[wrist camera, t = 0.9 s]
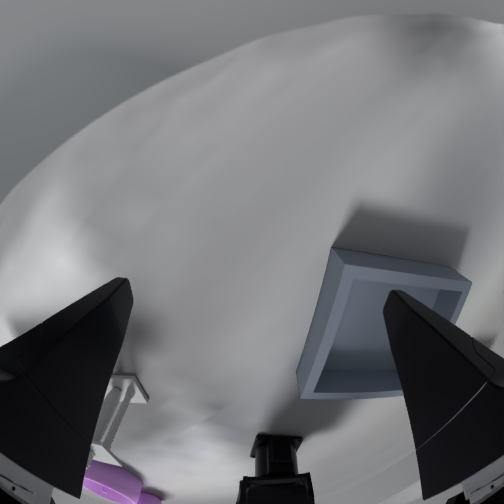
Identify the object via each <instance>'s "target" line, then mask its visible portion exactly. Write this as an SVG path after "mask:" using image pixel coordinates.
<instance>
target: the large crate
mask: <svg viewBox="0 0 504 504" xmlns="http://www.w3.org/2000/svg"><path fill="white" fill-rule="evenodd" d="M471 285H472V282H471V281H469V280H468V279H467V278H465V277H464V276H462V275H461V274H460V273H458V272H457V271H455V270H454V269H452V268H451V267H447V266H441V265H436V264H430V263H424V262H419V261H413V260H407V259H401V258H395V257H390V256H384V255H378V254H372V253H365V252H359V251H353V250H347V249H341V248H334V247H331V251H330V255H329V259H328V263H327V267H326V271H325V275H324V279H323V283H322V287H321V291H320V294H319V298H318V302H317V305H316V309H315V312H314V316H313V319H312V323H311V326H310V330H309V333H308V336H307V339H306V343H305V346H304V349H303V352H302V355H301V359H300V362H299V365H298V368H297V371H296V374H297V381H298V387H299V394H300V399H327V400H333V399H368V398H383V397H395V396H404V395H403V391H402V387H401V383H400V380H399V376H398V373H397V369H396V366H395V362H394V359H393V356H392V352H391V349H390V344H389V340H388V335H387V330H386V326H385V321H384V317H383V307H384V305H385V302H386V300H387V297H388V294H389V292H390V291H391V290H403V291H404V292H406V293H407V294H409V295H410V296H412V297H414V298H415V299H417V300H418V301H420V302H421V303H423V304H424V305H426V306H427V307H429V308H430V309H432V310H433V311H435V312H436V313H438V314H439V315H441V316H442V317H444V318H445V319H447V320H448V321H450V322H451V323H453V324H454V325H455V323H456V321H457V319H458V317H459V315H460V312H461V310H462V308H463V305H464V303H465V300H466V298H467V295H468V293H469V290H470V288H471Z"/></svg>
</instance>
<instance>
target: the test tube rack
mask: <svg viewBox="0 0 504 504" xmlns="http://www.w3.org/2000/svg"><path fill="white" fill-rule="evenodd" d="M148 401H149V399H148V397H147V396H146V394H145V392H144V391H143V389H142V387H141V385H140V384H139V382H138V380H137V378H136V377H135V376H128V375H111V378H110V381H109V384H108V388H107V391H106V394H105V397H104V401H103V404H102V407H101V411H100V414H99V418H98V421H97V425H96V429H95V432H94V436H93V440H92V444H91V449H90V453H89V457H88V462H87V466H86V469H88V466H90V463H91V461H92V459H93V460H96V461H100V462H104V463H108V464H113V465H117V466H122V467H123V463H122V462H121V461H120V460H119V459H118V458H117V457H116V456H115V455H114V454H113V453H112V452H111V451H110V448H111V443H112V441H113V439H114V436H115V434H116V432H117V429H118V427H119V425H120V423H121V420H122V418H123V416H124V414H125V411H126V409H127V407H128V405H129V403H130V402H132V403H148ZM119 402H122V404H121V406H120V408H119V410H118V412H117V414H116V416H115V419H114V421H113V423H112V425H111V427H110V429H109V432H108V434H107V436H106V438H105V440H104V442H103V443H101V442H100V441H101V439H102V437H103V435H104V433H105V430H106V428H107V426H108V424H109V422H110V420H111V418H112V416H113V414H114V411H115V409H116V407H117V405H118V403H119Z"/></svg>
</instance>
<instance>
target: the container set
mask: <svg viewBox="0 0 504 504" xmlns="http://www.w3.org/2000/svg"><path fill="white" fill-rule="evenodd" d="M142 486H143V483H142V481H141V480H140V479H139V478H137V477H136V476H135V475H133V474H132V473H130V472H129V471H127V470H125V469H123V468H121V467H120V466H117V465H113V464H108V463H104V462H100V461H96V460H93V459H92V461H91V463H90V466H88V469H86V471H85V476H84V481H83V487H85V488H86V489H88V490H89V491H91V492H93V493H95V494H97V495H99V496H101V497H103V498H105V499H107V500H110V501H112V502H115V503H118V504H162V503H161V501H160V499H159V498H158V497H156V496H154V495H151V494H147V493H141V489H142Z"/></svg>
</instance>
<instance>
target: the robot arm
mask: <svg viewBox="0 0 504 504" xmlns="http://www.w3.org/2000/svg"><path fill="white" fill-rule="evenodd" d="M132 306H133V295H132V290H131V286H130V282H129V280H128V279H127V278H121V277H117V278H115V279H113V280H111V281H110V282H108V283H106V284H104V285H103V286H101V287H99V288H98V289H96V290H94V291H92V292H91V293H89V294H87V295H86V296H84V297H82V298H81V299H79V300H77V301H76V302H74V303H72V304H71V305H69V306H67V307H66V308H64V309H63V310H61V311H59V312H58V313H56V314H54V315H53V316H51V317H50V318H48V319H47V320H45V321H43V322H42V323H40V324H39V325H37V326H35V327H34V328H32V329H31V330H29V331H27V332H26V333H24V334H23V335H21V336H19V337H17V338H16V339H14V340H12V341H10V342H8V343H7V344H5V345H3V346H1V347H0V504H55V502H54V500H53V498H52V492H53V488H54V487H55V488H57V489H59V490H61V491H63V492H65V493H67V494H70V495H71V496H74V497H76V498H78V499H80V496H81V491H82V486H83V481H84V476H85V471H86V466H87V462H88V457H89V453H90V449H91V444H92V440H93V436H94V432H95V429H96V425H97V421H98V418H99V414H100V411H101V407H102V404H103V400H104V397H105V394H106V391H107V388H108V384H109V381H110V378H111V375H112V372H113V369H114V366H115V363H116V361H117V358H118V355H119V352H120V349H121V346H122V343H123V341H124V337H125V333H126V329H127V325H128V321H129V317H130V313H131V310H132ZM383 317H384V321H385V326H386V330H387V335H388V340H389V344H390V349H391V352H392V356H393V359H394V362H395V366H396V369H397V373H398V376H399V380H400V383H401V387H402V391H403V395H404V399H405V403H406V407H407V411H408V415H409V420H410V424H411V429H412V433H413V438H414V443H415V449H416V455H417V461H418V466H419V473H420V480H421V488H422V496H423V500H426V499H429V498H431V497H433V496H435V495H438V494H440V493H442V492H444V491H446V490H448V489H450V488H452V487H454V486H456V485H458V484H460V483H462V487H463V492H461V493H459V494H457V495H455V496H453V497H452V498H450V499H448V500H447V502H446V504H504V358H502V357H501V356H499V355H498V354H496V353H495V352H493V351H491V350H490V349H488V348H487V347H486V346H484V345H483V344H481V343H480V342H478V341H477V340H476V339H474V338H473V337H471V336H470V335H468V334H467V333H466V332H464V331H463V330H461V329H460V328H458V327H457V326H455V325H454V324H453V323H451V322H450V321H448V320H447V319H445V318H444V317H442V316H441V315H439V314H438V313H436V312H435V311H433V310H432V309H430V308H429V307H427V306H426V305H424V304H423V303H421V302H420V301H418V300H417V299H415V298H414V297H412V296H410V295H409V294H407V293H406V292H404V291H403V290H391V291H390V292H389V294H388V297H387V300H386V302H385V305H384V307H383ZM302 441H303V438H302V437H286V436H265V435H258V436H256V438H255V441H254V445H253V448H252V451H251V454H250V457H252V458H255V477H248V476H243V480H241V481H240V486H239V494H238V498H237V502H236V504H315V502H314V492H313V487H312V482H311V476H310V472H308V473H304V474H298V466H297V456H296V452H297V450H298V448H299V447H300V445H301V443H302Z"/></svg>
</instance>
